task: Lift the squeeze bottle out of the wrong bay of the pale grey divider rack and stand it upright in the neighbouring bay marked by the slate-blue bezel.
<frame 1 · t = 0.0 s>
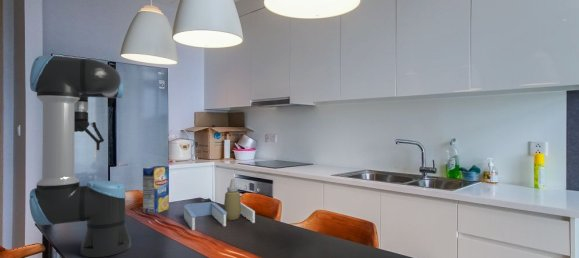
hand: (78, 158, 155), 28 cm above the table, fingers open, 13 cm apart
can opener: (200, 212, 172), on the table
divider rack: (218, 220, 155), on the table
squeeze bottle: (232, 218, 158), on the table
blue food box: (156, 211, 172), on the table
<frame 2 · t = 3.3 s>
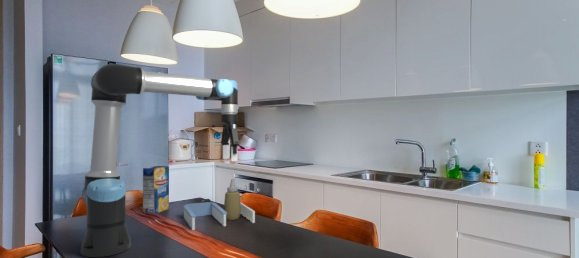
hand: (229, 159, 158), 27 cm above the table, fingers open, 13 cm apart
can opener: (200, 212, 171), on the table
everything else where it was.
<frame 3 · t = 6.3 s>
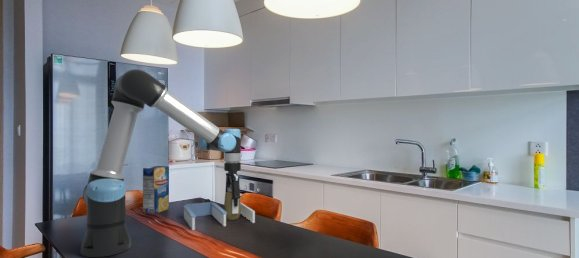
hand: (232, 211, 158), 3 cm above the table, fingers closed on squeeze bottle, 8 cm apart
squeeze bottle: (232, 218, 158), on the table, touching gripper
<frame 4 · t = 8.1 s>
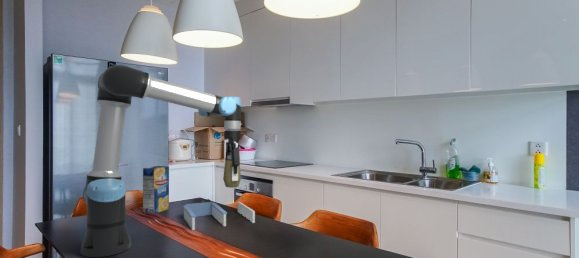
hand: (232, 179, 158), 18 cm above the table, fingers closed on squeeze bottle, 8 cm apart
squeeze bottle: (232, 187, 158), point 14 cm above the table, touching gripper
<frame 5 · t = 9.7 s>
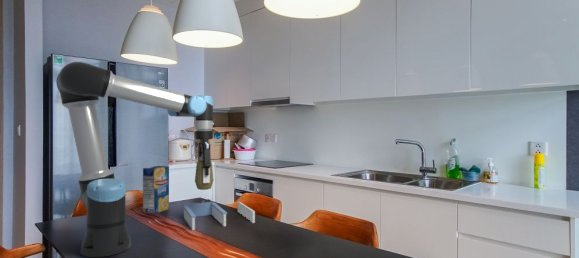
hand: (204, 181, 152), 18 cm above the table, fingers closed on squeeze bottle, 8 cm apart
squeeze bottle: (204, 189, 152), point 14 cm above the table, touching gripper
when the fingers open (5 cm above the table, at t = 12.4 s): squeeze bottle drops 1 cm, on the table.
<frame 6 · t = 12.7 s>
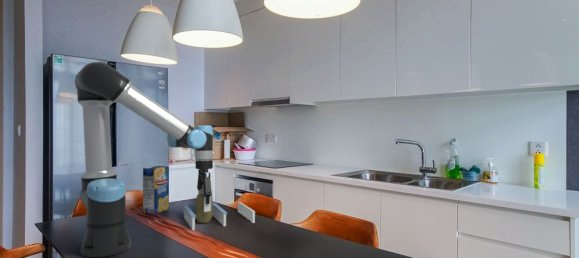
hand: (204, 208, 152), 6 cm above the table, fingers open, 12 cm apart
squeeze bottle: (203, 222, 152), on the table
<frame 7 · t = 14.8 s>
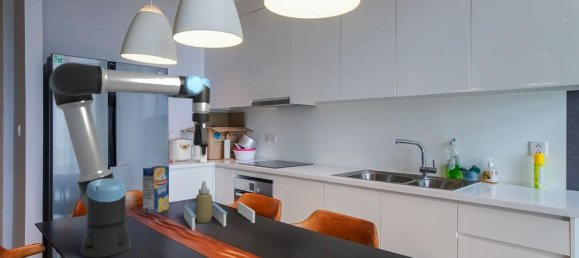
hand: (200, 161, 151), 27 cm above the table, fingers open, 13 cm apart
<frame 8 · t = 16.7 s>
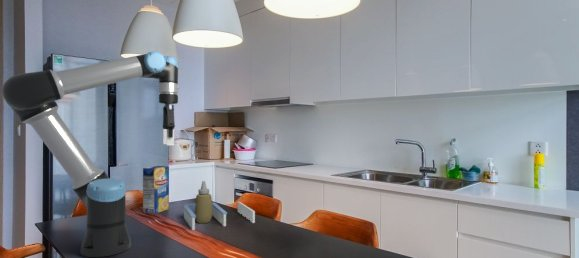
hand: (168, 144, 143), 35 cm above the table, fingers open, 13 cm apart
at the end: squeeze bottle inside the target area on the divider rack (0.2 cm from its centre), point 0.0 cm above the divider rack's base; squeeze bottle tilted 0°; the gripper is holding nothing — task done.
